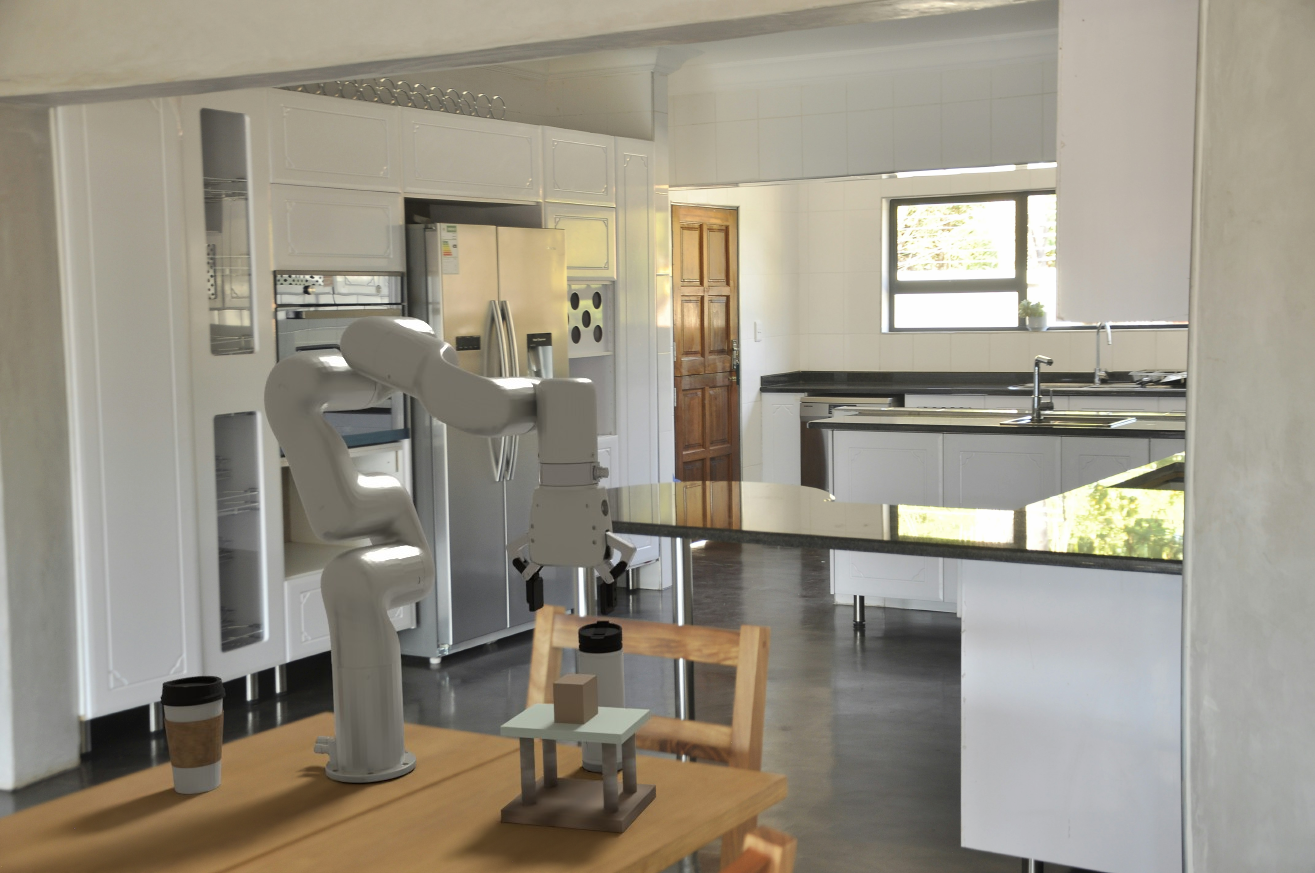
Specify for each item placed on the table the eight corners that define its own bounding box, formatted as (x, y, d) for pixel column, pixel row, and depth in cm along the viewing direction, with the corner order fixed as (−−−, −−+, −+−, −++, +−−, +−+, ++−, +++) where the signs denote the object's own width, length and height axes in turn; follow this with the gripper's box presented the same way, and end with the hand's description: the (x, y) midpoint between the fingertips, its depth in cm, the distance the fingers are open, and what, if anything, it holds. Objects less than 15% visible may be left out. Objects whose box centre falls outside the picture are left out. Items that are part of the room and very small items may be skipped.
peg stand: (501, 821, 155) (497, 738, 154) (542, 787, 167) (539, 709, 167) (622, 832, 150) (619, 746, 149) (656, 796, 162) (653, 716, 162)
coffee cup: (151, 793, 169) (145, 684, 169) (195, 774, 177) (190, 670, 176) (199, 799, 166) (194, 689, 165) (243, 779, 174) (237, 673, 173)
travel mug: (629, 757, 178) (625, 619, 177) (624, 772, 172) (619, 629, 171) (586, 757, 179) (581, 620, 178) (579, 772, 173) (574, 629, 171)
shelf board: (500, 735, 155) (498, 686, 155) (536, 711, 166) (534, 665, 165) (621, 743, 150) (620, 693, 150) (650, 718, 161) (648, 671, 160)
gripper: (643, 474, 157) (646, 608, 158) (517, 472, 162) (521, 602, 163) (623, 479, 150) (626, 620, 151) (492, 478, 155) (496, 614, 156)
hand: (571, 611), depth 157 cm, fingers open, 9 cm apart
